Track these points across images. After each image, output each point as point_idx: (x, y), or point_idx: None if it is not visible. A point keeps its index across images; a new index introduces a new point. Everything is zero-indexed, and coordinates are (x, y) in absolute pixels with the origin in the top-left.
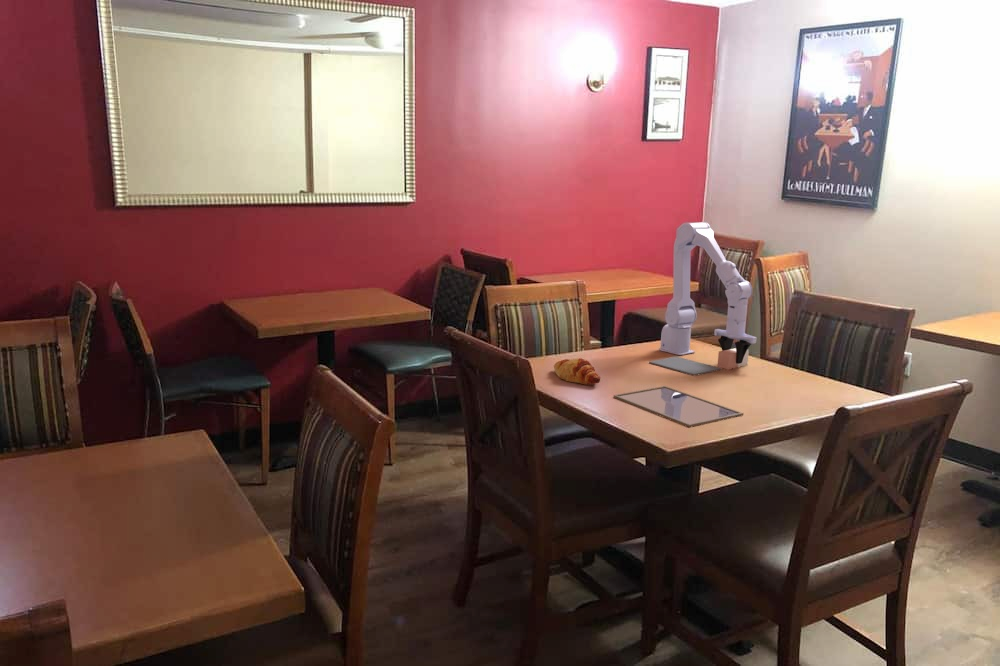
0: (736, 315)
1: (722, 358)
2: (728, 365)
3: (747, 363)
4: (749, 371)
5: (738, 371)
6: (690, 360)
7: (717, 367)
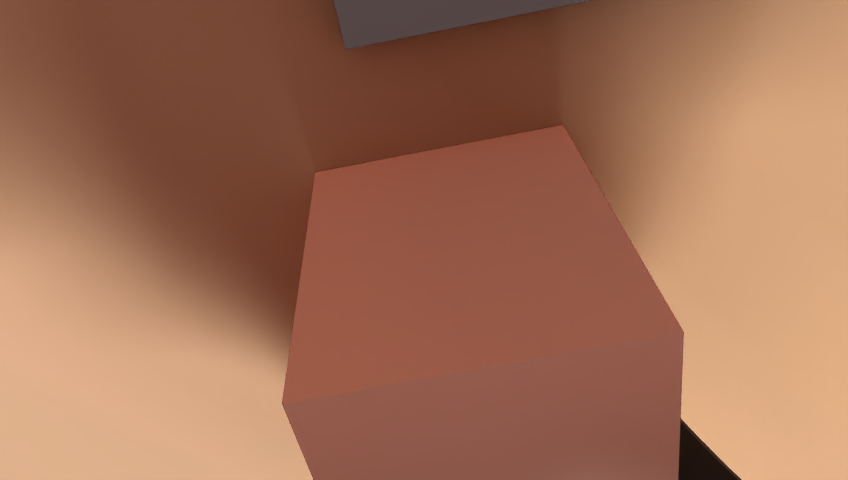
0: None
1: (486, 253)
2: (309, 220)
3: None
4: (111, 398)
5: (146, 258)
6: None
7: (429, 9)
